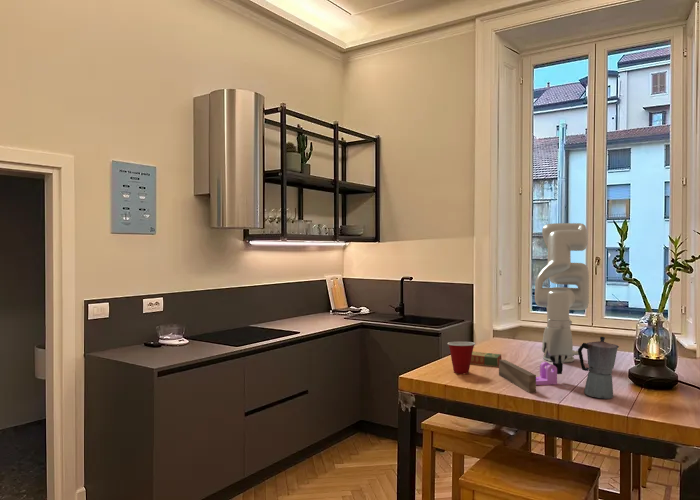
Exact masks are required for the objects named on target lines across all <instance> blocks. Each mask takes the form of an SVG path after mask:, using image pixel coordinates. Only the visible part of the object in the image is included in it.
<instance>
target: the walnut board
mask: <svg viewBox="0 0 700 500" xmlns="http://www.w3.org/2000/svg"><path fill="white" fill-rule="evenodd" d="M498 376H499V377H501V378H502V379H505V380H506V381H508V382H510V383H511V384H513V385H515V386H517V387H518V388H520V389H521V390H524V391H525V392H527V393H529V394H533V393H537V385H536V377H537V375H536V374H534V373H533V372H531V371H530V370H529V371H528V370H527V369H525V368H522V367H521V366H519V365H517V364H514V363H513V362H511V361H509V360H508V359H501V360H499V366H498Z"/></svg>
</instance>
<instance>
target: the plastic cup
mask: <svg viewBox="0 0 700 500" xmlns="http://www.w3.org/2000/svg"><path fill="white" fill-rule="evenodd" d="M475 345H476V343H475V342H472V341H450V342H447V346H448V348H449V352H450V357H451V364H452V369H453V373H454V374H459V375H466V374H469V372H470V367H471V365H472V364H471V358H472V352H473V351H474V347H475Z"/></svg>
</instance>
